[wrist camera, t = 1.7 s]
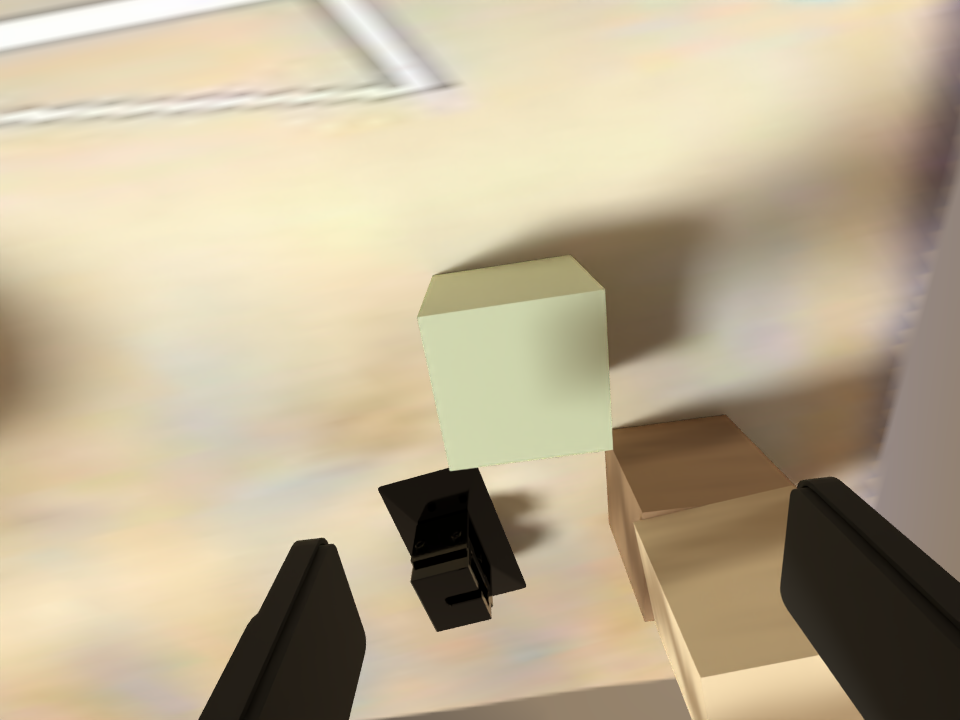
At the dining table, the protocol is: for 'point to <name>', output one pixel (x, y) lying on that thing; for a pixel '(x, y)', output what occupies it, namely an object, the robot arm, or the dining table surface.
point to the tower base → (678, 478)
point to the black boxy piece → (453, 545)
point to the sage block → (518, 362)
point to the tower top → (734, 614)
